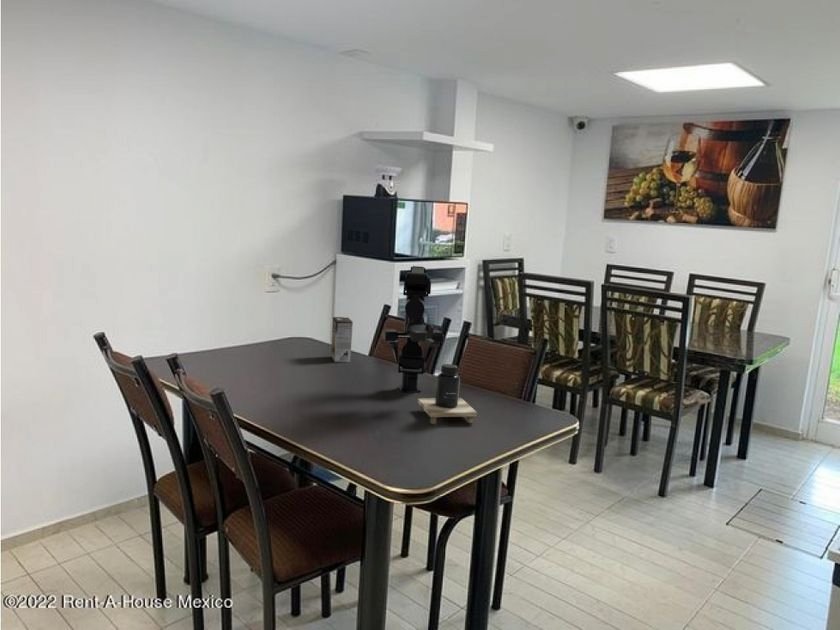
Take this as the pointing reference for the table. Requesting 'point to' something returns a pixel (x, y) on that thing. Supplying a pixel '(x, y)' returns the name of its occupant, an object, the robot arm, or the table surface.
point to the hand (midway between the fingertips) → (411, 362)
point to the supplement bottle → (447, 387)
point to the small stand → (446, 410)
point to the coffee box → (341, 339)
